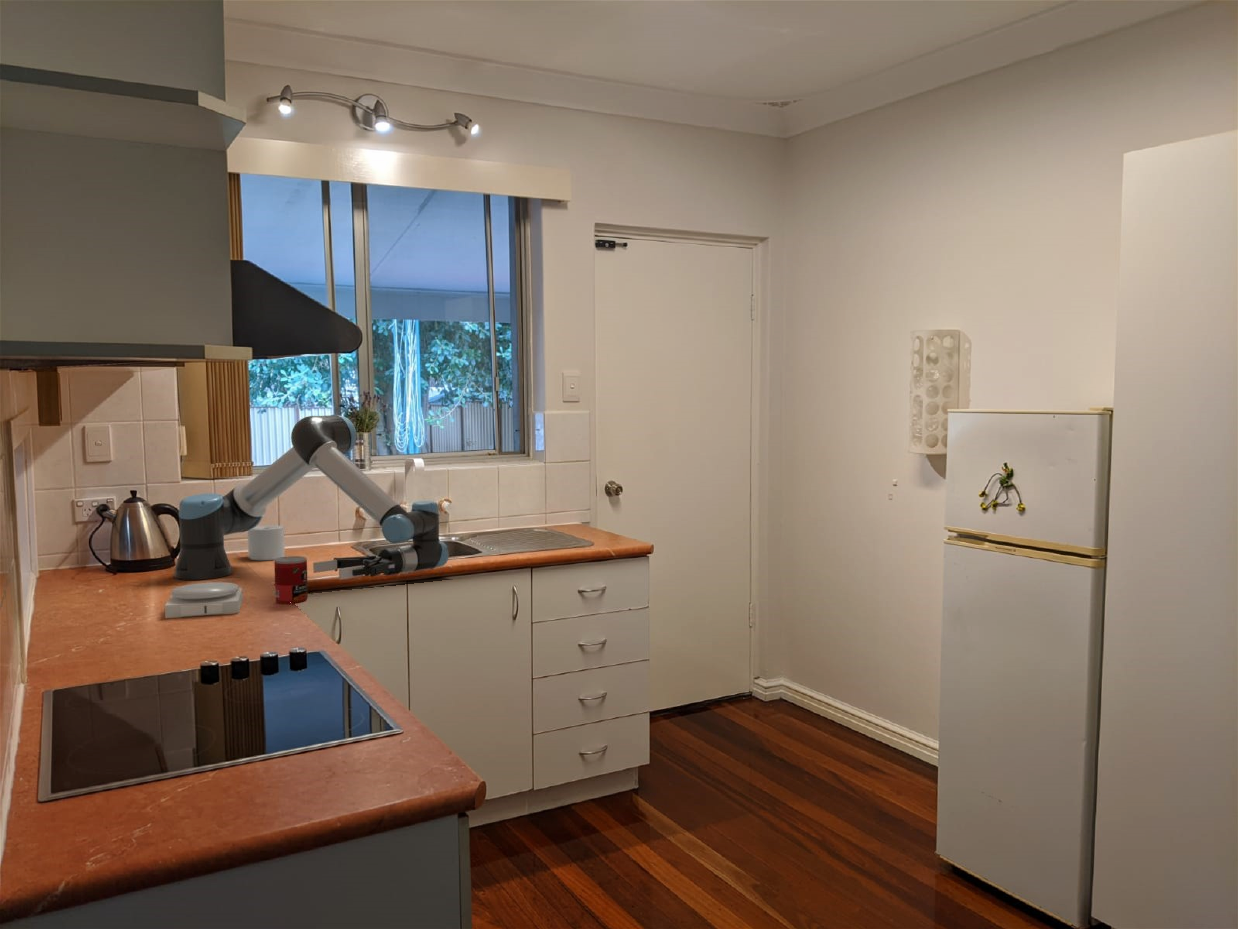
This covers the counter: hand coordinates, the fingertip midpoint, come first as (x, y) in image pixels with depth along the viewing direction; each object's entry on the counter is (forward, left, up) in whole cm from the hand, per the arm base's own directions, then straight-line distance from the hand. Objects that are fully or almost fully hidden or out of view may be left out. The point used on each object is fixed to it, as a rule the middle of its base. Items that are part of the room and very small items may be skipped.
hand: (326, 571), depth 243 cm
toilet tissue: (-67, -18, -7) cm, 69 cm away
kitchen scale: (+6, -29, -6) cm, 30 cm away
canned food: (+4, -9, -7) cm, 12 cm away
